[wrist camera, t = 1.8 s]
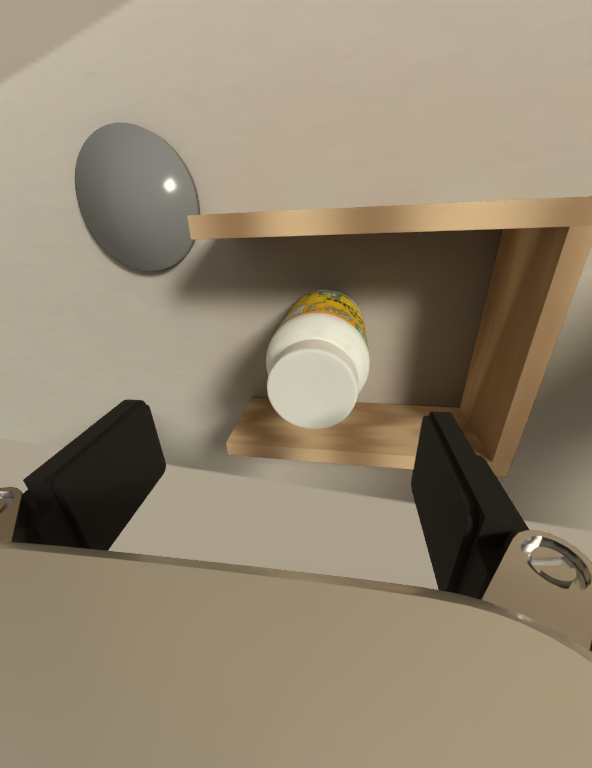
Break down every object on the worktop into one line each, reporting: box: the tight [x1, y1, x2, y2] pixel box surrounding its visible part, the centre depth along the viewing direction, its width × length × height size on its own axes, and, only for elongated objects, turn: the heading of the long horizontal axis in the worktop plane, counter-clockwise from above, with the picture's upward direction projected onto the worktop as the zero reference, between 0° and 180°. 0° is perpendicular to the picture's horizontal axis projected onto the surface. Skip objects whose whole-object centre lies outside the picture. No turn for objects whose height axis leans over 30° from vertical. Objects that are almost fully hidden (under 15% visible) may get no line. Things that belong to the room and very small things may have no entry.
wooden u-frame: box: [187, 196, 592, 477], centre depth 19 cm, size 17×14×6 cm
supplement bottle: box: [266, 290, 370, 429], centre depth 17 cm, size 5×5×10 cm
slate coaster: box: [75, 123, 200, 271], centre depth 20 cm, size 8×8×1 cm
